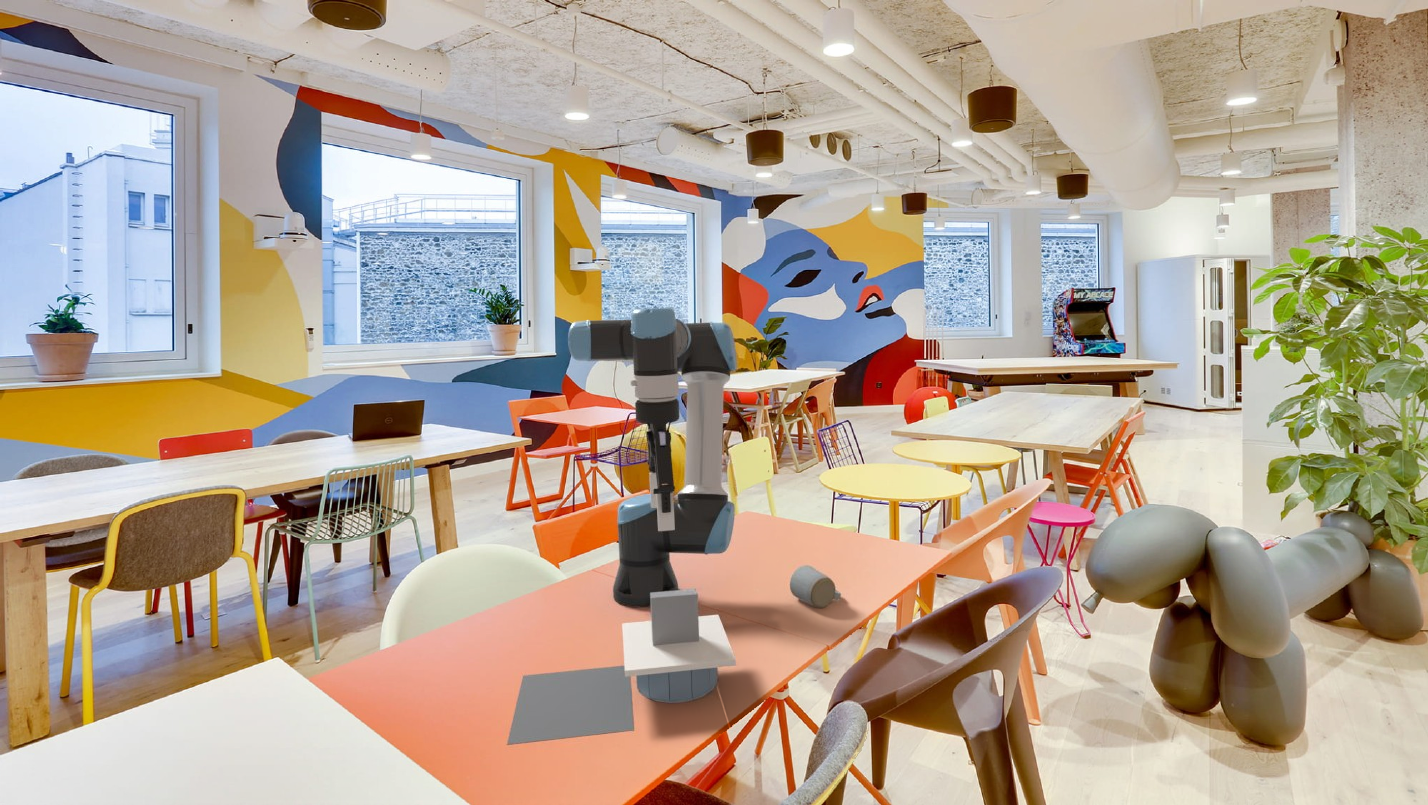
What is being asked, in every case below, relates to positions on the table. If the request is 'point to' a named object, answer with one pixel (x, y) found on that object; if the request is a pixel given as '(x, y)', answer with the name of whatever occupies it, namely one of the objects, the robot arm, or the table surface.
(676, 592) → the lid
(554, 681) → the mat
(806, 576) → the ceramic mug
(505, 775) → the table surface
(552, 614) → the table surface
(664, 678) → the bowl
